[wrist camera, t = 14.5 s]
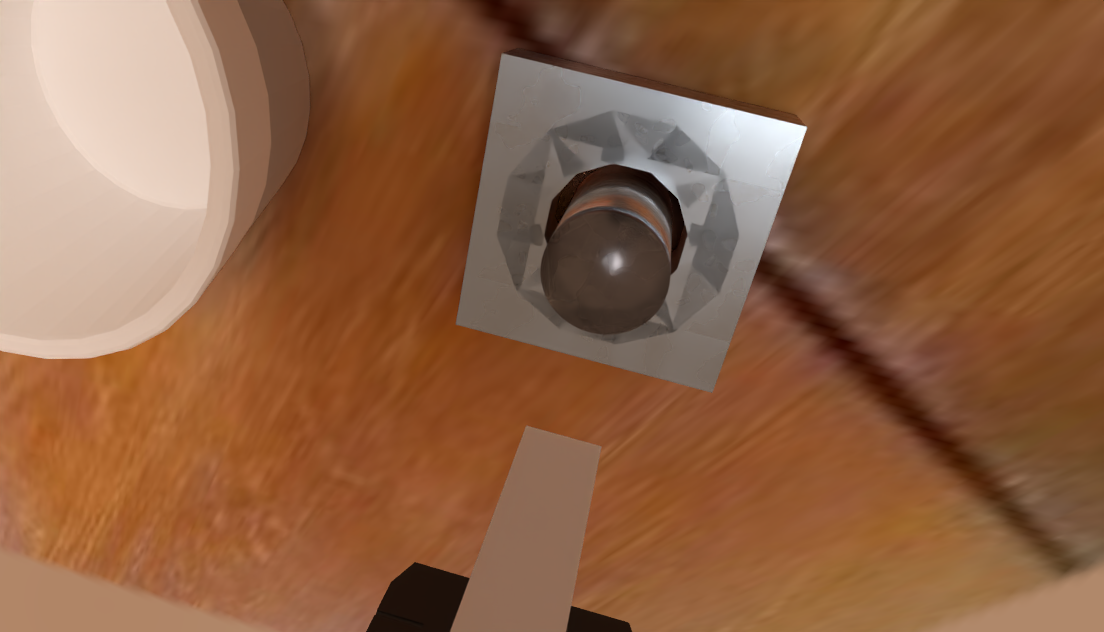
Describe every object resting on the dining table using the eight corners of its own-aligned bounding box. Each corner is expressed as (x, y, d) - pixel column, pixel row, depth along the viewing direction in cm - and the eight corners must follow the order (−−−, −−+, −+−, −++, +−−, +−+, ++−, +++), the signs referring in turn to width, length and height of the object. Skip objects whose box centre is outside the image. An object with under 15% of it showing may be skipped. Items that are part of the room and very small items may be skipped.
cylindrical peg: (583, 151, 32) (555, 198, 25) (685, 177, 32) (686, 231, 25) (561, 247, 34) (529, 316, 27) (657, 272, 34) (650, 348, 27)
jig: (517, 47, 31) (501, 53, 28) (796, 115, 30) (807, 127, 28) (472, 299, 36) (455, 324, 33) (710, 362, 35) (712, 392, 33)
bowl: (-97, -108, 33) (-424, -149, 23) (283, -228, 28) (77, -341, 19) (86, 288, 40) (-106, 384, 30) (413, 240, 36) (312, 333, 26)
